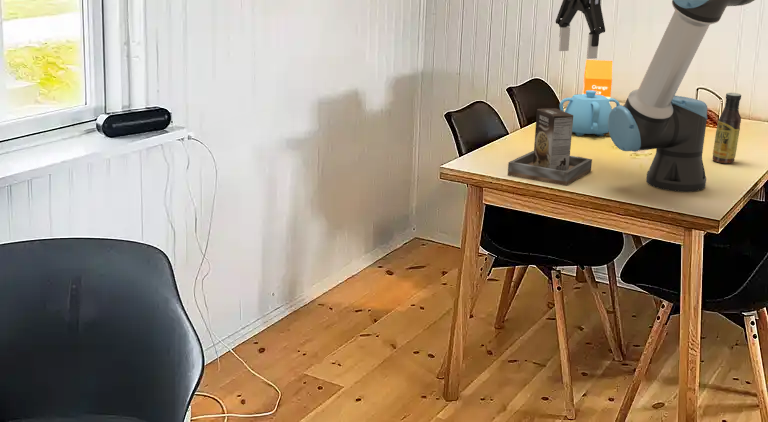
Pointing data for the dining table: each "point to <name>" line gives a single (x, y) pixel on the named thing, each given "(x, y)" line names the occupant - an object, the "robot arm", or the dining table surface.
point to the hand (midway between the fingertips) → (577, 54)
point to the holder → (549, 170)
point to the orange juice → (598, 77)
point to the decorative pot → (589, 112)
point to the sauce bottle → (728, 130)
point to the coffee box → (553, 139)
